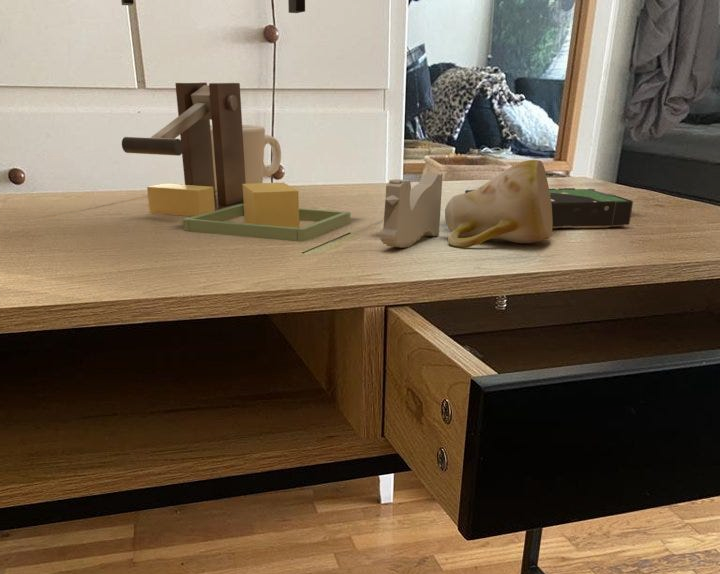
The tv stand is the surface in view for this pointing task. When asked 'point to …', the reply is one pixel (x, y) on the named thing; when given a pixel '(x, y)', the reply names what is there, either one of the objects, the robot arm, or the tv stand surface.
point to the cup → (255, 154)
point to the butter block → (181, 199)
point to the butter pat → (271, 204)
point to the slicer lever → (172, 129)
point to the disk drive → (588, 208)
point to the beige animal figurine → (411, 210)
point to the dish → (217, 225)
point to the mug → (503, 208)
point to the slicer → (215, 143)
